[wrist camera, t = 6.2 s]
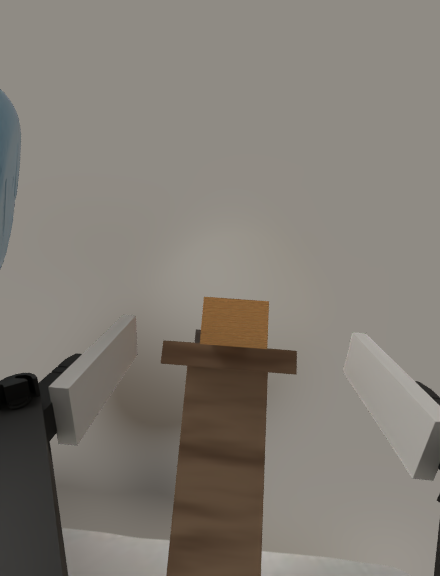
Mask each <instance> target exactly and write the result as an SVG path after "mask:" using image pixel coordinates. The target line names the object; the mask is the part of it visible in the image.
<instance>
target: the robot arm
mask: <svg viewBox="0 0 440 576" xmlns="http://www.w3.org/2000/svg"><path fill="white" fill-rule="evenodd" d="M20 147H21V132H20V124H19V118H18V115H17V113H16V110H15V108H14V106H13V104H12V103H11V101H10V100H9V98H8V97H7V96H6V95H5V93H4V92H3V91H2V90H1V89H0V268H1V266H2V264H3V262H4V258H5V255H6V251H7V247H8V241H9V237H10V233H11V228H12V222H13V212H14V206H15V198H16V194H17V186H18V176H19V167H20V149H21V148H20ZM137 355H138V354H137V333H136V316H134V315H123V316H121V317H120V318H119V319H118V320H117V321H116V322H115V323H114V324H113V325H112V326H111V327H110V328H109V329H108V330H107V331H106V332H105V333H104V334H103V335H102V336H101V337H100V338H99V339H98V340H97V341H95V343H93V344H92V345H91V346H90V347H89V348H88V349H87V350H86V351H85V352H84V353H83V354H74V355H72V356H70V357H68V358H67V359H65V360H64V361H63V362H62V363H61V364H59V366H58V367H56V368H55V369H54V370H53V371H52V373H49V374H48V375H47V376H46V377H45V378H44V379H43V380H42V381H41V382H39V383H38V380H37V377H36V376H35V375H34V374H31V373H21V374H15V375H12V376H9V377H6V378H5V379H3V380H1V381H0V576H68V572H67V565H66V557H65V550H64V543H63V535H62V528H61V521H60V513H59V506H58V499H57V491H56V484H55V477H54V469H53V462H52V455H51V448H50V442H49V441H50V440H51V439H52V438H53V436H54V435H55V434H56V433H57V438H58V443H59V444H65V445H75V446H77V445H78V444H79V442H80V440H81V439H82V438H83V436H84V434H85V433H86V431H87V430H88V428H89V427H90V425H91V424H92V422H93V421H94V419H95V418H96V416H97V415H98V413H99V412H100V410H101V409H102V407H103V406H104V404H105V403H106V401H107V400H108V398H109V397H110V395H111V394H112V392H113V391H114V389H115V388H116V386H117V385H118V383H119V382H120V380H121V379H122V377H123V376H124V374H125V373H126V371H127V370H128V368H129V367H130V365H131V364H132V362H133V361H134V359H135V358H136V356H137ZM343 372H344V374H345V376H346V377H347V379H348V380H349V382H350V383H351V385H352V386H353V388H354V389H355V391H356V392H357V394H358V395H359V397H360V399H361V400H362V402H363V403H364V405H365V406H366V408H367V409H368V411H369V412H370V414H371V415H372V417H373V418H374V420H375V422H376V423H377V425H378V426H379V428H380V429H381V431H382V432H383V434H384V435H385V437H386V439H387V440H388V442H389V443H390V445H391V446H392V448H393V449H394V451H395V452H396V454H397V455H398V457H399V458H400V460H401V462H402V463H403V465H404V466H405V468H406V469H407V471H408V472H409V474H410V475H411V477H412V478H413V479H422V480H432V481H433V480H434V478H435V475H436V473H437V471H438V469H439V470H440V398H439V396H438V395H437V394H435V393H434V392H433V391H432V390H431V389H430V388H428V387H427V386H425V385H423V384H422V383H420V382H417V381H414V380H413V379H412V378H411V377H410V376H409V375H407V373H406V372H405V371H404V370H403V369H402V368H401V367H399V366H398V365H397V364H396V363H395V362H394V361H393V360H392V359H391V358H390V357H389V356H388V355H387V354H386V353H385V352H384V351H383V350H382V349H381V348H380V347H379V346H378V345H377V344H376V343H375V342H374V341H373V340H372V339H371V338H370V337H369V336H368V335H367V334H365V333H354V332H353V333H352V336H351V341H350V345H349V349H348V353H347V358H346V362H345V365H344V370H343ZM437 501H438V502H440V495H439V496H438V499H437ZM434 576H440V523H439V532H438V542H437V552H436V562H435V571H434Z"/></svg>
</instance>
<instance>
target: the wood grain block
mask: <svg viewBox="0 0 440 576" xmlns="http://www.w3.org/2000/svg"><path fill="white" fill-rule="evenodd" d="M268 311H269V302H268V301H255V300H241V299H227V298H213V297H204V304H203V315H202V325H201V336H200V344H208V345H220V346H233V347H246V348H259V349H267V339H268V337H267V336H268Z"/></svg>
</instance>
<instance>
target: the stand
mask: <svg viewBox="0 0 440 576" xmlns="http://www.w3.org/2000/svg"><path fill="white" fill-rule="evenodd" d="M200 336H201V330H196V335H195V343H191V342H177V341H163V349H162V357H161V363H162V364H174V365H186V366H187V376H186V385H185V395H184V405H183V415H182V426H181V435H180V445H179V455H178V465H177V475H176V485H175V495H174V506H173V515H172V526H171V536H170V546H169V556H168V566H167V576H261V551H262V522H263V494H264V491H263V490H264V465H265V435H266V406H267V378H268V372H272V373H284V374H285V373H286V374H296V368H297V366H296V364H297V361H296V360H297V351H291V350H280V349H268V348H267V349H259V348H246V347H233V346H220V345H208V344H200Z"/></svg>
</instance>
